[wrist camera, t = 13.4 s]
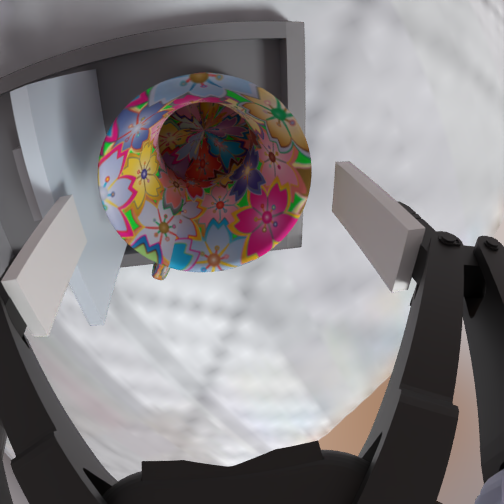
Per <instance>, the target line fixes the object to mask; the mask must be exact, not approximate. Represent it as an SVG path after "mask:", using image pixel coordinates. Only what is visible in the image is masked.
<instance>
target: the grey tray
mask: <svg viewBox="0 0 504 504" xmlns="http://www.w3.org/2000/svg"><path fill="white" fill-rule="evenodd" d="M92 69H96V73H97V80H98V88H99V95H100V101H101V108H102V114H103V120H104V126H105V131H106V135H107V133H108V131H109V129H110V127H111V125H112V124H113V122H114V121H115V119H116V118H117V116H118V115H119V114H120V113H121V111H122V110H123V109H124V108H125V107H126V106H127V105H128V104H129V103H130V102H131V101H132V100H134V99H135V98H136V97H137V96H139V95H140V94H141V93H143V92H144V91H146V90H148V89H149V88H151V87H153V86H155V85H157V84H159V83H161V82H163V81H166V80H169V79H171V78H175V77H179V76H183V75H189V74H194V73H203V72H209V73H218V74H224V75H229V76H234V77H237V78H241V79H244V80H246V81H249V82H251V83H254V84H255V85H257V86H259V87H261V88H263V89H265V90H266V91H267V92H269V93H270V94H272V95H273V96H275V97H276V98H277V99H278V100H279V101H280V102H282V103H283V105H284V106H285V107H286V108H287V109H288V110H289V111H290V112H291V114H292V115H293V116H294V118H295V119H296V121H297V122H298V124H299V126H300V127H301V129H302V131H303V134H304V136H305V35H304V22H292V21H244V22H224V23H211V24H200V25H191V26H183V27H175V28H169V29H162V30H156V31H150V32H145V33H140V34H135V35H130V36H125V37H121V38H117V39H112V40H108V41H104V42H101V43H97V44H93V45H90V46H86V47H83V48H79V49H76V50H73V51H70V52H67V53H63V54H60V55H58V56H55V57H52V58H49V59H46V60H44V61H41V62H38V63H36V64H33V65H30V66H28V67H26V68H23V69H21V70H18V71H16V72H14V73H11V74H9V75H7V76H5V77H3V78H0V277H1V276H2V274H3V272H5V269H6V268H7V266H9V263H10V262H11V260H12V258H13V257H14V256H15V255H16V254H17V253H18V252H19V251H20V250H21V249H22V247H23V246H24V244H25V243H26V242H27V240H28V239H29V237H30V236H31V234H32V233H33V232H34V230H35V229H36V227H37V226H38V225H39V223H40V222H41V221H42V220H38V221H34V218H33V216H32V213H31V210H30V207H29V204H28V201H27V198H26V195H25V192H24V189H23V186H22V183H21V179H20V176H19V173H18V169H17V166H16V162H15V158H14V155H13V150H14V149H16V148H17V147H19V146H20V141H19V137H18V132H17V128H16V123H15V118H14V113H13V108H12V102H11V97H10V92H11V91H13V90H15V89H18V88H20V87H23V86H25V85H28V84H32V83H35V82H39V81H43V80H47V79H51V78H55V77H59V76H63V75H68V74H72V73H77V72H82V71H87V70H92ZM302 225H303V211H302V213H301V215H300V217H299V219H298V221H297V222H296V224H295V225H294V227H293V228H292V229H291V231H290V232H289V233H288V234H287V235H286V236H285V237H284V238H283V239H282V241H281V242H280V243H278V244H277V245H276V246H275V247H274V248H272V249H271V250H270V251H272V250H281V249H289V248H298V247H301V245H302ZM147 264H154V261H152V260H150V259H148V258H146V257H145V256H143V255H141V254H140V253H138V252H137V251H136V250H134V249H133V248H132V247H131V246H130V245H128V244H127V246H126V249H125V252H124V256H123V259H122V262H121V265H120V267H129V266H138V265H147Z"/></svg>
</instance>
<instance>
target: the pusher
mask: <svg viewBox="0 0 504 504" xmlns="http://www.w3.org/2000/svg"><path fill="white" fill-rule="evenodd" d="M10 97H11V102H12V108H13V113H14V118H15V123H16V128H17V132H18V137H19V141H20V146H19V147H17V148H16V149H14V150H13V155H14V158H15V162H16V166H17V169H18V173H19V176H20V179H21V183H22V186H23V189H24V192H25V195H26V198H27V201H28V204H29V207H30V210H31V213H32V216H33V218H34V221H38V220H42V219H43V218H44V217H45V215H46V214H47V213H48V211H49V210H50V209H51V207H52V206H53V205H54V204H55V202H56V201H57V200H58V199H59V197H62V196H67V195H71V194H73V198H74V201H75V204H76V208H77V211H78V214H79V218H80V221H81V224H82V227H83V230H84V233H85V236H86V239H87V243H86V245H85V248H84V250H83V252H82V254H81V256H80V258H79V261H78V263H77V265H76V268H75V270H74V272H73V274H72V277H71V279H70V282H69V284H70V287H71V289H72V291H73V293H74V295H75V297H76V299H77V301H78V303H79V305H80V307H81V309H82V311H83V313H84V315H85V317H86V319H87V321H88V323H89V325H90V326H94V325H104V323H105V319H106V315H107V311H108V307H109V304H110V300H111V296H112V293H113V289H114V286H115V282H116V279H117V275H118V272H119V269H120V265H121V262H122V259H123V256H124V252H125V249H126V246H127V243H126V242H125V241H124V240H123V239H122V238H121V236H120V235H119V234H118V233H117V231H116V230H115V229H114V227H113V226H112V224H111V223H110V221H109V219H108V217H107V215H106V213H105V210H104V208H103V205H102V202H101V199H100V194H99V189H98V179H97V173H98V161H99V155H100V151H101V147H102V145H103V142H104V139H105V137H106V131H105V126H104V120H103V114H102V108H101V101H100V95H99V88H98V80H97V73H96V69H92V70H87V71H82V72H77V73H72V74H68V75H63V76H59V77H55V78H51V79H47V80H43V81H39V82H35V83H32V84H28V85H25V86H23V87H20V88H18V89H15V90H13V91H11V92H10Z"/></svg>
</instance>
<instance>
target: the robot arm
mask: <svg viewBox="0 0 504 504" xmlns="http://www.w3.org/2000/svg"><path fill="white" fill-rule="evenodd" d="M332 212H333V213H334V214H335V216H336V217H337V218H338V219H339V221H340V222H341V223H342V225H343V226H344V227H345V229H346V230H347V231H348V233H349V234H350V235H351V237H352V238H353V239H354V241H355V242H356V243H357V245H358V246H359V247H360V249H361V250H362V251H363V253H364V254H365V256H366V257H367V258H368V260H369V261H370V263H371V264H372V265H373V267H374V268H375V270H376V271H377V272H378V274H379V275H380V277H381V278H382V280H383V281H384V282H385V284H386V285H387V287H388V288H389V290H390V291H391V293H394V292H399V291H403V290H408V288H409V284H410V281H411V278H412V277H413V279H414V280H415V281H416V283H417V285H416V288H415V291H414V294H413V297H412V299H411V302H410V306H411V308H410V312H409V316H408V320H407V324H406V328H405V331H404V335H403V339H402V342H401V346H400V349H399V352H398V356H397V359H396V362H395V365H394V369H393V372H392V375H391V378H390V381H389V384H388V387H387V390H386V392H385V395H384V398H383V401H382V404H381V406H380V409H379V411H378V414H377V417H376V419H375V422H374V424H373V427H372V429H371V432H370V434H369V436H368V438H367V440H366V443H365V444H364V446H363V448H362V450H361V452H360V454H359V456H355V455H352V454H349V453H345V452H340V451H333V450H321V449H320V446H319V443H318V441H314V442H310V443H305V444H301V445H296V446H291V447H286V448H281V449H275V450H273V451H270V452H268V453H266V454H263V455H261V456H258V457H256V458H253V459H251V460H248V461H246V462H243V463H240V464H238V465H235V466H230V467H226V466H217V465H210V464H203V463H197V462H191V461H185V460H178V461H142V471H141V472H137V473H135V474H132V475H129V476H127V477H125V478H123V479H121V480H120V481H117V480H116V479H115V478H114V477H113V476H112V475H110V474H109V473H108V471H107V470H106V469H105V468H104V467H103V466H102V464H101V463H100V462H99V460H98V459H97V458H96V456H95V455H94V453H93V452H92V451H91V449H90V448H89V446H88V445H87V444H86V442H85V441H84V439H83V438H82V436H81V435H80V433H79V432H78V430H77V429H76V427H75V426H74V424H73V423H72V421H71V419H70V418H69V416H68V415H67V413H66V411H65V410H64V408H63V406H62V405H61V403H60V401H59V400H58V398H57V396H56V394H55V393H54V391H53V389H52V387H51V385H50V384H49V382H48V380H47V378H46V376H45V374H44V372H43V370H42V368H41V366H40V364H39V362H38V360H37V358H36V356H35V354H34V352H33V350H32V348H31V346H30V344H29V341H28V339H27V338H26V336H25V335H24V332H25V329H26V327H28V329H29V331H30V332H31V334H32V335H33V337H49V334H50V331H51V328H52V326H53V323H54V320H55V317H56V315H57V312H58V309H59V307H60V304H61V301H62V299H63V296H64V294H65V291H66V289H67V286H68V284H69V282H70V279H71V277H72V274H73V272H74V270H75V268H76V265H77V263H78V261H79V258H80V256H81V254H82V252H83V250H84V248H85V245H86V243H87V239H86V236H85V233H84V230H83V227H82V224H81V221H80V218H79V214H78V211H77V208H76V204H75V201H74V198H73V194H71V195H67V196H62V197H59V199H58V200H57V201H56V202H55V204H54V205H53V206H52V207H51V209H50V210H49V211H48V213H47V214H46V215H45V217H44V218H43V219H42V221H41V222H40V223H39V225H38V226H37V227H36V229H35V230H34V232H33V233H32V234H31V236H30V237H29V239H28V240H27V242H26V243H25V244H24V246H23V247H22V249H21V250H20V251H19V252H18V253H17V254H16V255H15V256H14V257H13V258H12V260H11V262H10V263H9V266H7V268H6V269H5V272H3V274H2V276H1V277H0V504H13V502H12V499H11V495H10V491H9V487H8V483H7V479H6V475H5V471H4V466H3V461H2V460H3V454H4V449H5V444H6V439H7V436H8V438H9V441H10V443H11V445H12V448H13V450H14V452H15V455H16V458H14V459H13V460H11V466H12V470H13V472H14V474H15V477H16V479H17V481H18V483H19V485H20V487H21V489H22V490H23V493H24V494H25V496H26V498H27V500H28V502H29V504H442V503H440V502H438V501H436V500H437V497H438V494H439V491H440V488H441V485H442V481H443V478H444V475H445V471H446V467H447V464H448V460H449V457H450V453H451V449H452V444H453V440H454V436H455V431H456V426H457V421H458V414H459V409H458V406H455V405H453V403H452V401H453V395H454V389H455V383H456V376H457V369H458V361H459V352H460V343H461V331H462V317H463V320H464V324H465V329H466V334H467V339H468V344H469V350H470V355H471V361H472V367H473V374H474V381H475V389H476V397H477V406H478V418H479V433H480V452H481V453H480V454H481V466H482V474H483V480H484V485H483V487H482V489H481V493H480V495H479V496H478V497H477V498H476V500H475V504H504V247H503V245H502V244H501V243H500V242H498V240H496V239H494V238H493V237H488V236H480V237H478V239H477V242H476V244H475V247H473V246H463V244H462V242H461V240H460V239H459V238H458V237H456V236H454V235H453V234H450V233H448V232H443V231H438V232H436V231H435V230H434V229H433V228H432V227H431V226H430V225H429V224H428V223H427V222H425V221H424V220H423V219H421V217H420V216H419V215H418V214H416V212H415V211H413V210H412V209H411V208H410V207H409V206H407V205H405V204H403V203H401V202H397V201H396V200H395V199H394V198H392V197H391V196H390V195H389V194H388V193H387V192H386V191H384V190H383V189H382V188H381V187H380V186H379V185H377V184H376V183H375V182H374V181H373V180H372V179H370V178H369V177H368V176H367V175H366V174H364V173H363V172H362V171H361V170H359V169H358V168H357V167H356V166H354V165H353V164H352V163H351V162H336V164H335V179H334V193H333V205H332Z"/></svg>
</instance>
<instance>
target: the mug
mask: <svg viewBox="0 0 504 504" xmlns="http://www.w3.org/2000/svg"><path fill="white" fill-rule="evenodd" d="M97 179H98V189H99V194H100V199H101V202H102V205H103V208H104V210H105V213H106V215H107V217H108V219H109V221H110V223H111V224H112V226H113V227H114V229H115V230H116V231H117V233H118V234H119V235H120V236H121V238H122V239H123V240H124V241H125V242H126V243H127V244H128V245H130V246H131V247H132V248H133V249H134V250H136V251H137V252H138V253H140V254H141V255H143V256H145V257H146V258H148V259H150V260H152V261H154V265H153V270H152V276H153V278H155V279H158V280H164V279H165V278H166V276H167V274H168V272H169V270H170V268H173V269H177V270H182V271H190V272H215V271H222V270H227V269H232V268H235V267H238V266H241V265H244V264H246V263H249V262H251V261H253V260H255V259H257V258H259V257H260V256H262V255H264V254H265V253H267V252H268V251H270V250H271V249H272V248H274V247H275V246H276V245H277V244H278V243H280V242H281V241H282V239H283V238H284V237H285V236H286V235H287V234H288V233H289V232H290V231H291V229H292V228H293V227H294V225H295V224H296V222H297V221H298V219H299V217H300V215H301V213H302V211H303V209H304V207H305V204H306V201H307V198H308V194H309V190H310V184H311V157H310V152H309V148H308V144H307V141H306V138H305V136H304V134H303V131H302V129H301V127H300V126H299V124H298V122H297V121H296V119H295V118H294V116H293V115H292V114H291V112H290V111H289V110H288V109H287V108H286V107H285V106H284V105H283V103H282V102H280V101H279V100H278V99H277V98H276V97H275V96H273V95H272V94H270V93H269V92H267V91H266V90H265V89H263V88H261V87H259V86H257V85H255V84H254V83H251V82H249V81H246V80H244V79H241V78H237V77H234V76H229V75H224V74H218V73H209V72H203V73H194V74H189V75H183V76H179V77H175V78H171V79H169V80H166V81H163V82H161V83H159V84H157V85H155V86H153V87H151V88H149V89H148V90H146V91H144V92H143V93H141V94H140V95H139V96H137V97H136V98H135V99H134V100H132V101H131V102H130V103H129V104H128V105H127V106H126V107H125V108H124V109H123V110H122V111H121V113H120V114H119V115H118V116H117V118H116V119H115V121H114V122H113V124H112V125H111V127H110V129H109V131H108V133H107V135H106V137H105V139H104V142H103V145H102V147H101V151H100V155H99V161H98V173H97Z"/></svg>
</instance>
